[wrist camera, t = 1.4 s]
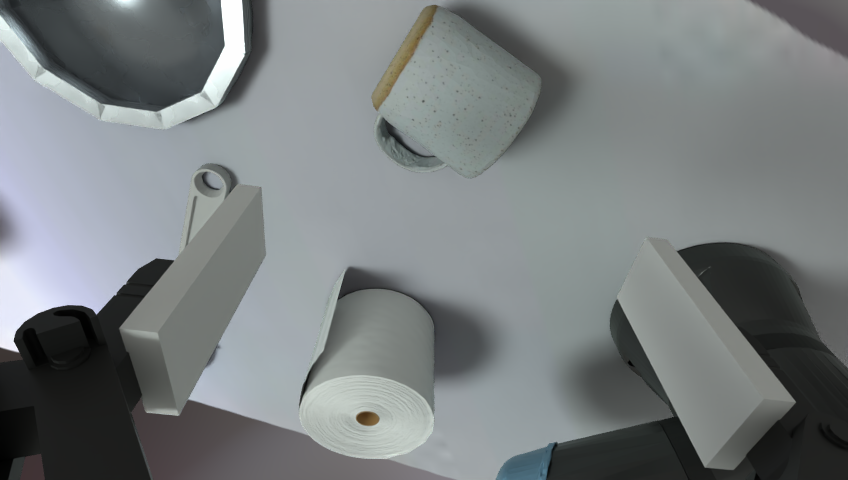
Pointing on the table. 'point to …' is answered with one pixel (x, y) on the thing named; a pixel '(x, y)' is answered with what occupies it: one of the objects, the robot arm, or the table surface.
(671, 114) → the table surface
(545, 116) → the table surface
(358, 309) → the toilet tissue
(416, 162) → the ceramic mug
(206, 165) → the adjustable wrench
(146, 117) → the flange seat
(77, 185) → the table surface
